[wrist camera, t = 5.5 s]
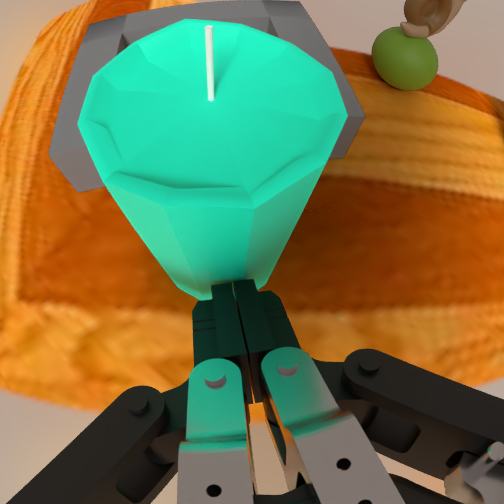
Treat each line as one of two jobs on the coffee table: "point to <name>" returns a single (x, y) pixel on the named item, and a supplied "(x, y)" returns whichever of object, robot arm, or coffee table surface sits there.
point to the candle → (212, 145)
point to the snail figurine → (413, 44)
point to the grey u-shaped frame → (147, 22)
